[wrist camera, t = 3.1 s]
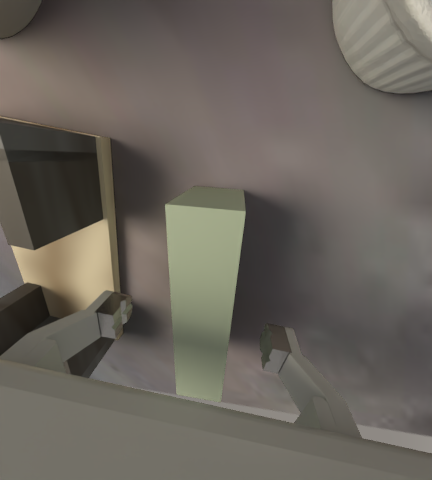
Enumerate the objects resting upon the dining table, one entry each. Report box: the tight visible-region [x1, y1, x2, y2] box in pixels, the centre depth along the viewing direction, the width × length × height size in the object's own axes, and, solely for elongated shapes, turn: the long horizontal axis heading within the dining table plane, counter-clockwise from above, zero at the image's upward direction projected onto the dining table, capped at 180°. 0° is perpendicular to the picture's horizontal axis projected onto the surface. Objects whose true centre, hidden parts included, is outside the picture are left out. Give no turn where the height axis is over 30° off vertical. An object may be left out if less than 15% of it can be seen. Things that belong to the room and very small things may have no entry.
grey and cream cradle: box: [0, 116, 123, 378], centre depth 12 cm, size 8×17×5 cm, turn 169°
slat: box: [165, 186, 246, 402], centre depth 12 cm, size 3×13×5 cm, turn 176°
